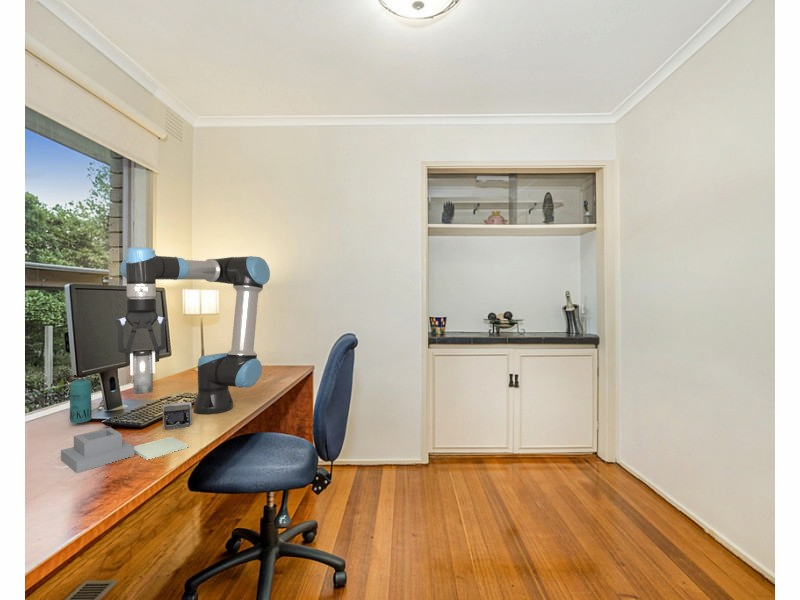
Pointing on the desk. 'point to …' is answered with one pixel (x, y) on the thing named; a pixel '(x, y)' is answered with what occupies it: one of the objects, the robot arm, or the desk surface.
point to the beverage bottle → (80, 400)
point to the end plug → (142, 371)
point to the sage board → (159, 447)
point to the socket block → (96, 450)
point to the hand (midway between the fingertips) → (143, 373)
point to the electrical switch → (177, 415)
